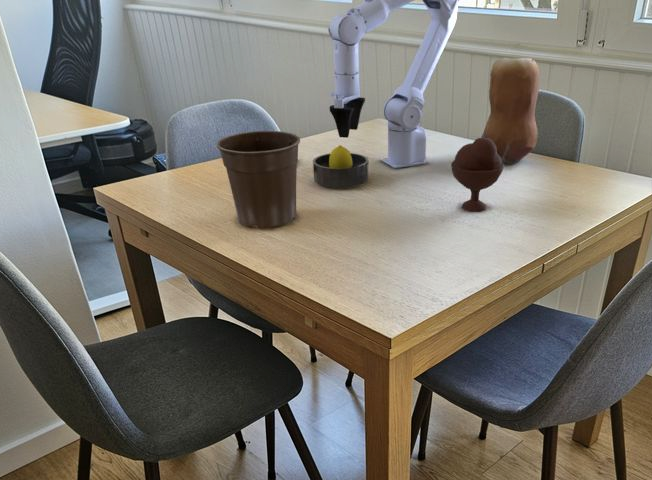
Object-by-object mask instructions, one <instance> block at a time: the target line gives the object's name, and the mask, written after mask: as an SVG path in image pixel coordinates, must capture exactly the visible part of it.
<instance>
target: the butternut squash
mask: <svg viewBox="0 0 652 480" xmlns="http://www.w3.org/2000/svg"><path fill="white" fill-rule="evenodd" d="M489 76H490V77H489V78H490V79H489V91H488V93H489V94H488V99H489V105H490V106H489V107H490V113H489V114H490V115H489V117H488V119H487V121H486V124H485V126H484V130H483V138H488V139H491V140H492V141H493V142H494V144H495V145H496V148H497V154H498V155H499V156H500V157H501V160H502V162H503V163H506V164H507V163H508V164H515V163H518V162H520V161H522V160H523V159H524V158H525V157H526V156H527V155H529V154H530V153H531V152H532V151H534V149H535V147H536V145H537V142H538V126H537V122H536V117H535V116H536V115H535V112H536V107H537V101H538V96H539V89H540V82H539V81H540V73H539V66H538V64H537V62H536V61H535V60H534V59H532V58H530V57H515V58H509V57H502V58H498V59H496V60H495V61H494V62H493V63H492V66H491V70H490V73H489Z"/></svg>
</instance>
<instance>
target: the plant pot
mask: <svg viewBox="0 0 652 480" xmlns="http://www.w3.org/2000/svg"><path fill="white" fill-rule="evenodd" d="M300 143H301V137H300V136H298V134H297V135H296V134H295V133H292V132H287V131H281V130H280V131H278V130H253V131H244V132H239V133H235V134H231V135H228V136H225V137H222V138H220V139H219V140H218V141H217V142H216V148H217V149H218V150H219V152H220V155H221V156H220V157H221V159H222V163H223V166H224V167H225V169H226V173H227V178H228V181H229V187H230V189H231V190H230V191H231V195H232V198H233V203H234V207H235V211H236V216H237V221H238V222H239V224H241V226H244V227H247V228H253V227H255V228H258V229H275V228H276V229H277V228H280V227H283V226H286V225H288V224H290V223H292V222H293V220H295V219H296V218H297V162H298V159H299V145H300Z"/></svg>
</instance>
